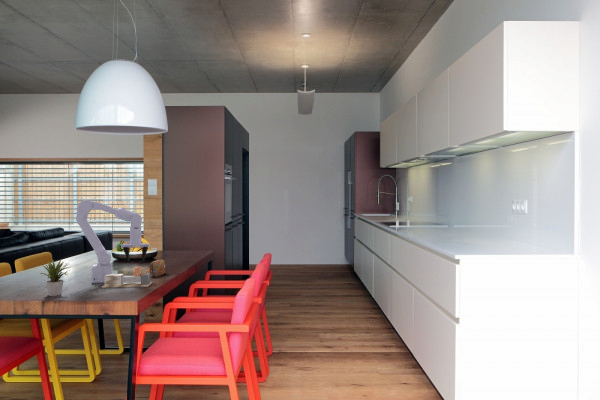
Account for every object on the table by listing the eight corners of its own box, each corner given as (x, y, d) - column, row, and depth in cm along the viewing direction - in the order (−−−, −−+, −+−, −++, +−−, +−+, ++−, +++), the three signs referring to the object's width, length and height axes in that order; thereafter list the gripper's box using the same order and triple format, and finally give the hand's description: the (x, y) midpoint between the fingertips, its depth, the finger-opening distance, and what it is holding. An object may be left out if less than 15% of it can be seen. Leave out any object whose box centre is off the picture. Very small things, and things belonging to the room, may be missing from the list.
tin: (153, 277, 260) (153, 262, 260) (148, 277, 261) (148, 262, 261) (166, 273, 275) (166, 258, 275) (161, 272, 275) (161, 258, 275)
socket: (140, 284, 235) (140, 275, 235) (143, 282, 241) (143, 273, 241) (148, 284, 235) (148, 274, 235) (150, 282, 241) (150, 273, 241)
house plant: (67, 297, 207) (67, 260, 207) (33, 299, 204) (32, 261, 204) (76, 291, 221) (75, 256, 221) (43, 292, 218) (43, 257, 218)
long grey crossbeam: (116, 283, 235) (116, 267, 235) (118, 281, 238) (118, 267, 238) (145, 282, 236) (145, 267, 236) (146, 281, 239) (146, 266, 239)
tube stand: (101, 287, 230) (101, 276, 230) (107, 283, 240) (107, 273, 240) (148, 286, 233) (148, 275, 233) (152, 282, 243) (152, 272, 243)
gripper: (119, 236, 248) (119, 262, 248) (148, 236, 249) (148, 261, 250) (123, 235, 255) (123, 260, 255) (150, 235, 256) (150, 260, 257)
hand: (135, 261), depth 253 cm, fingers open, 7 cm apart
